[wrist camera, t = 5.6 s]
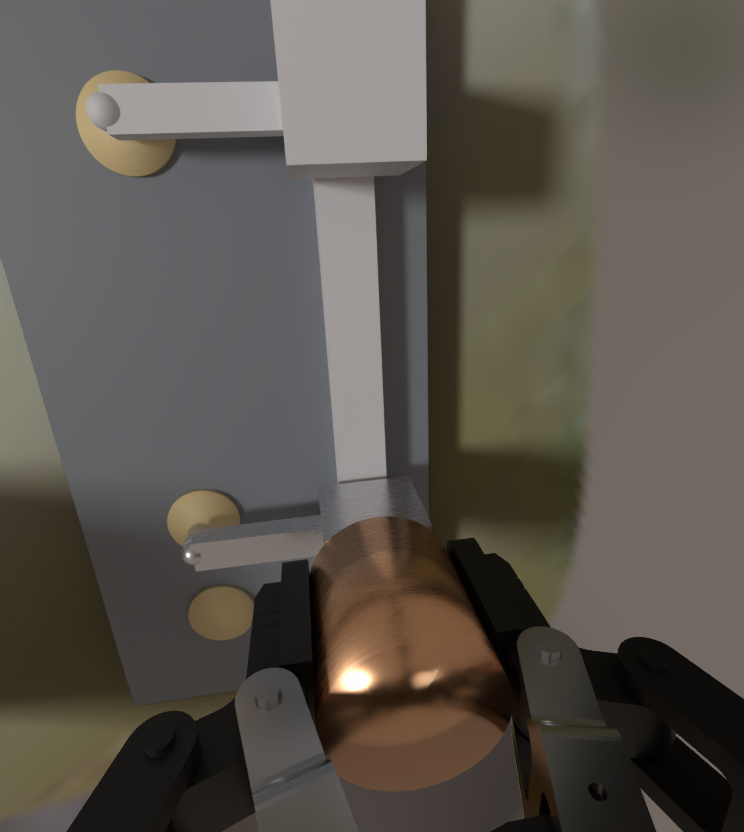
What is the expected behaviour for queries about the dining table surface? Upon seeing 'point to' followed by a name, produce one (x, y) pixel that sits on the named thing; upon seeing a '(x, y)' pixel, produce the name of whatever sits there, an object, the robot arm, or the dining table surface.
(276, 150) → the plate
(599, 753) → the robot arm
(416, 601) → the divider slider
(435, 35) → the dining table surface
